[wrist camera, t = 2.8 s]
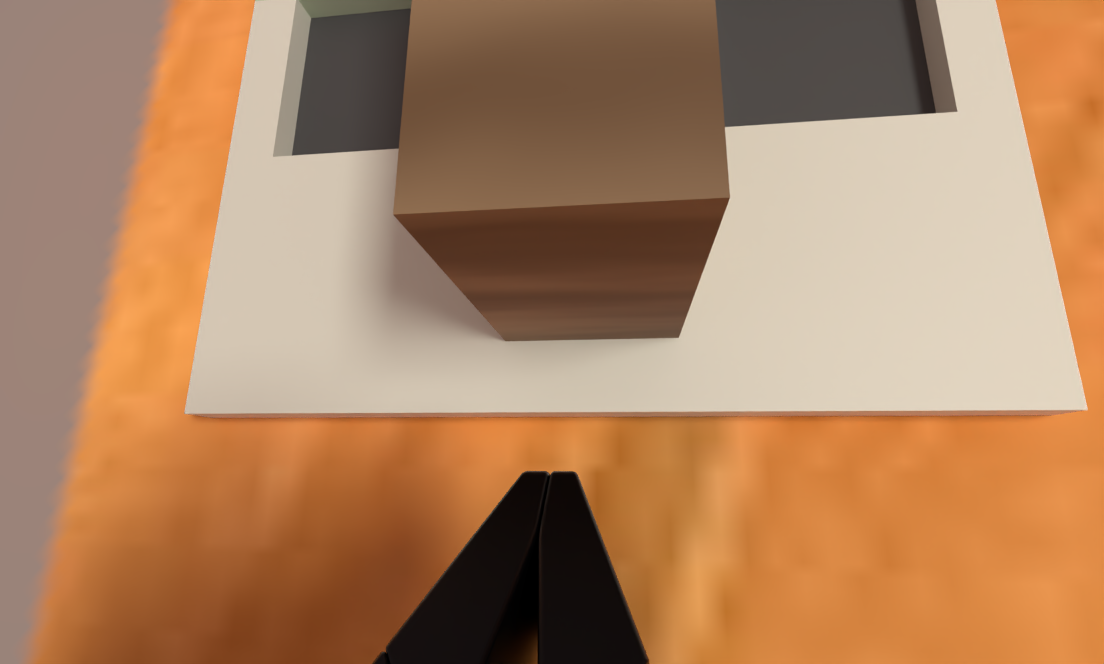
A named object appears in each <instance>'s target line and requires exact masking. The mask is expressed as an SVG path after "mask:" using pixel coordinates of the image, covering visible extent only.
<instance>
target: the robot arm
mask: <svg viewBox="0 0 1104 664" xmlns="http://www.w3.org/2000/svg"><path fill="white" fill-rule="evenodd" d="M386 653H387V654H386ZM372 664H649V659H648V656H647V654H646V651H645V649H644V646H643V643H642V641H641V638H640V636H639V633H638V630H637V628H636V625H635V623H634V620H633V617H632V615H631V612H630V610H629V607H628V604H627V602H626V599H625V597H624V594H623V591H622V589H621V586H620V584H619V581H618V578H617V576H616V573H615V571H614V568H613V565H612V563H611V560H610V558H609V555H608V552H607V550H606V547H605V545H604V542H603V539H602V537H601V534H600V532H599V529H598V526H597V524H596V521H595V519H594V516H593V513H592V511H591V508H590V506H589V503H588V500H587V498H586V495H585V493H584V490H583V487H582V485H581V482H580V480H579V477H578V475H577V474H576V473H575V472H573V471H554V472H552V473H551V474H549V473H548V472H546V471H526V472H524V473H522V474H521V475H520V477H519V478H518V479H517V480H516V482H515V483H514V484H513V486H512V487H511V488H510V489H509V491H508V492H507V493H506V494H505V496H504V497H503V498H502V500H501V501H500V502H499V503H498V505H497V506H496V507H495V508H494V510H493V511H492V512H491V514H490V515H489V516H488V517H487V519H486V520H485V521H484V522H483V524H482V525H481V526H480V528H479V529H478V530H477V531H476V533H475V534H474V535H473V536H472V538H471V539H470V540H469V542H468V543H467V544H466V545H465V547H464V548H463V549H462V550H461V552H460V553H459V554H458V556H457V557H456V558H455V559H454V561H453V562H452V563H451V564H450V566H449V567H448V568H447V570H446V571H445V572H444V573H443V575H442V576H441V577H440V578H439V580H438V581H437V582H436V584H435V585H434V586H433V587H432V589H431V590H430V591H429V592H428V594H427V595H426V596H425V598H424V599H423V600H422V601H421V603H420V604H419V605H418V606H417V608H416V609H415V610H414V612H413V613H412V614H411V615H410V617H409V618H408V619H407V620H406V622H405V623H404V624H403V626H402V627H401V628H400V629H399V631H398V632H397V633H396V634H395V636H394V637H393V638H392V640H391V641H390V642H389V643H388V645H387V646H386V652H381V653H380V654H379V656H378V657H377V658H376V659H375V661H374V662H373V663H372Z"/></svg>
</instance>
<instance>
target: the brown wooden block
mask: <svg viewBox="0 0 1104 664" xmlns="http://www.w3.org/2000/svg"><path fill="white" fill-rule="evenodd" d="M729 199H730V189H729V176H728V163H727V149H726V136H725V123H724V109H723V96H722V83H721V69H720V56H719V43H718V30H717V16H716V3H715V0H412V3H411V14H410V26H409V37H408V49H407V60H406V71H405V83H404V94H403V106H402V117H401V128H400V140H399V151H398V163H397V174H396V185H395V197H394V208H393V215H394V216H395V217H396V219H397V220H398V221H399V222H400V223H401V224H402V225H403V226H404V228H405V229H406V230H407V231H408V232H409V233H410V234H411V235H412V237H413V238H414V239H415V240H416V241H417V242H418V243H419V244H420V246H421V247H422V248H423V249H424V250H425V251H426V252H427V253H428V255H429V256H430V257H431V258H432V259H433V260H434V261H435V262H436V264H437V265H438V266H439V267H440V268H441V269H442V270H443V271H444V273H445V274H446V275H447V276H448V277H449V278H450V279H451V280H452V282H453V283H454V284H455V285H456V286H457V287H458V288H459V290H460V291H461V292H462V293H463V294H464V295H465V296H466V297H467V299H468V300H469V301H470V302H471V303H472V304H473V305H474V306H475V308H476V309H477V310H478V311H479V312H480V313H481V314H482V315H483V317H484V318H485V319H486V320H487V321H488V322H489V323H490V324H491V326H492V327H493V328H494V329H495V330H496V331H497V332H498V333H499V335H500V336H501V337H502V338H503V339H504V340H505V341H548V340H597V339H647V338H679V336H680V333H681V330H682V328H683V325H684V322H685V319H686V317H687V314H688V311H689V308H690V306H691V303H692V300H693V298H694V295H695V292H696V289H697V287H698V284H699V281H700V278H701V276H702V273H703V270H704V268H705V265H706V262H707V259H708V257H709V254H710V251H711V248H712V246H713V243H714V240H715V237H716V235H717V232H718V229H719V227H720V224H721V221H722V218H723V216H724V213H725V210H726V207H727V205H728V202H729Z"/></svg>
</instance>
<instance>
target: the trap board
mask: <svg viewBox="0 0 1104 664" xmlns="http://www.w3.org/2000/svg"><path fill="white" fill-rule="evenodd" d="M411 3H412V0H255V5H254V11H253V17H252V23H251V28H250V34H249V40H248V46H247V52H246V58H245V63H244V69H243V75H242V81H241V87H240V93H239V98H238V104H237V110H236V116H235V122H234V127H233V133H232V139H231V145H230V151H229V157H228V162H227V168H226V174H225V180H224V186H223V192H222V197H221V203H220V209H219V215H218V221H217V227H216V232H215V238H214V244H213V250H212V256H211V261H210V267H209V273H208V279H207V285H206V291H205V296H204V302H203V308H202V314H201V320H200V326H199V331H198V337H197V343H196V349H195V355H194V360H193V366H192V372H191V378H190V384H189V390H188V395H187V401H186V407H185V413H184V414H190V415H197V416H203V417H210V418H337V417H658V416H979V415H1057V414H1064V413H1071V412H1077V411H1084V410H1088V409H1087V404H1086V400H1085V395H1084V391H1083V387H1082V382H1081V378H1080V373H1079V369H1078V364H1077V360H1076V355H1075V351H1074V347H1073V342H1072V338H1071V333H1070V329H1069V324H1068V320H1067V316H1066V311H1065V307H1064V302H1063V298H1062V293H1061V289H1060V285H1059V280H1058V276H1057V271H1056V267H1055V262H1054V258H1053V253H1052V249H1051V245H1050V240H1049V236H1048V231H1047V227H1046V222H1045V218H1044V214H1043V209H1042V205H1041V200H1040V196H1039V191H1038V187H1037V183H1036V178H1035V174H1034V169H1033V165H1032V160H1031V156H1030V151H1029V147H1028V143H1027V138H1026V134H1025V129H1024V125H1023V120H1022V116H1021V112H1020V107H1019V103H1018V98H1017V94H1016V89H1015V85H1014V81H1013V76H1012V72H1011V67H1010V63H1009V58H1008V54H1007V49H1006V45H1005V41H1004V36H1003V32H1002V27H1001V23H1000V18H999V14H998V10H997V5H996V1H995V0H715V3H716V16H717V30H718V43H719V56H720V69H721V83H722V96H723V109H724V123H725V136H726V149H727V163H728V176H729V189H730V199H729V202H728V205H727V207H726V210H725V213H724V216H723V218H722V221H721V224H720V227H719V229H718V232H717V235H716V237H715V240H714V243H713V246H712V248H711V251H710V254H709V257H708V259H707V262H706V265H705V268H704V270H703V273H702V276H701V278H700V281H699V284H698V287H697V289H696V292H695V295H694V298H693V300H692V303H691V306H690V308H689V311H688V314H687V317H686V319H685V322H684V325H683V328H682V330H681V333H680V336H679V338H647V339H597V340H548V341H505V340H504V339H503V338H502V337H501V336H500V335H499V333H498V332H497V331H496V330H495V329H494V328H493V327H492V326H491V324H490V323H489V322H488V321H487V320H486V319H485V318H484V317H483V315H482V314H481V313H480V312H479V311H478V310H477V309H476V308H475V306H474V305H473V304H472V303H471V302H470V301H469V300H468V299H467V297H466V296H465V295H464V294H463V293H462V292H461V291H460V290H459V288H458V287H457V286H456V285H455V284H454V283H453V282H452V280H451V279H450V278H449V277H448V276H447V275H446V274H445V273H444V271H443V270H442V269H441V268H440V267H439V266H438V265H437V264H436V262H435V261H434V260H433V259H432V258H431V257H430V256H429V255H428V253H427V252H426V251H425V250H424V249H423V248H422V247H421V246H420V244H419V243H418V242H417V241H416V240H415V239H414V238H413V237H412V235H411V234H410V233H409V232H408V231H407V230H406V229H405V228H404V226H403V225H402V224H401V223H400V222H399V221H398V220H397V219H396V217H395V216H394V215H393V208H394V197H395V185H396V174H397V163H398V151H399V140H400V128H401V117H402V106H403V94H404V83H405V71H406V60H407V49H408V37H409V26H410V14H411Z"/></svg>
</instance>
